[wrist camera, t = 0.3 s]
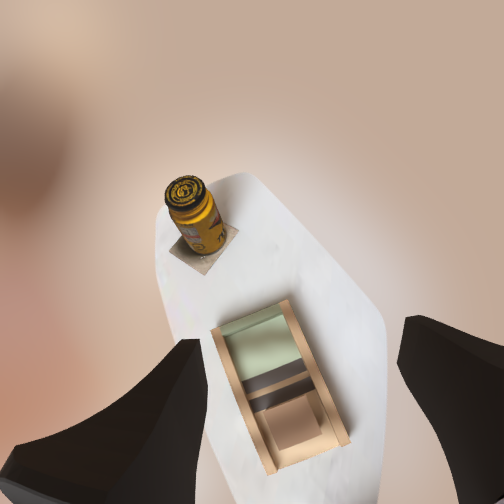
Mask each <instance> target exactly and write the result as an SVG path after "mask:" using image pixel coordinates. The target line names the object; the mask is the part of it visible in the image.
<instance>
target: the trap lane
mask: <svg viewBox="0 0 504 504" xmlns="http://www.w3.org/2000/svg"><path fill="white" fill-rule="evenodd" d="M210 331H211V334H212V337H213V339H214V342H215V345H216V348H217V351H218V353H219V356H220V359H221V362H222V364H223V367H224V370H225V373H226V375H227V378H228V381H229V383H230V386H231V388H232V391H233V394H234V396H235V399H236V401H237V404H238V406H239V409H240V411H241V414H242V416H243V419H244V421H245V424H246V426H247V429H248V431H249V434H250V436H251V438H252V441H253V443H254V446H255V448H256V450H257V453H258V455H259V457H260V459H261V462H262V464H263V466H264V469H265V471H266V473H267V475H271V474H274V473H277V472H278V469H281V468H284V467H287V466H290V465H293V464H295V463H298V462H301V461H303V460H306V459H308V458H311V457H313V456H316V455H318V454H321V453H323V452H325V451H328V450H330V449H332V448H335V447H337V446H339V445H340V446H341V447H343V446H345V445H347V444H349V443H351V441H350V439H349V437H348V434H347V432H346V430H345V427H344V425H343V423H342V421H341V418H340V416H339V414H338V411H337V409H336V407H335V405H334V402H333V400H332V398H331V395H330V393H329V391H328V389H327V386H326V384H325V382H324V380H323V377H322V375H321V373H320V370H319V368H318V366H317V364H316V361H315V359H314V357H313V355H312V353H311V350H310V348H309V346H308V344H307V341H306V339H305V337H304V335H303V332H302V330H301V328H300V326H299V324H298V321H297V319H296V317H295V315H294V312H293V310H292V308H291V306H290V304H289V301H288V299H287V300H284V301H282V302H279V303H277V304H275V305H272V306H270V307H267V308H265V309H263V310H260V311H258V312H255V313H253V314H250V315H248V316H245V317H243V318H240V319H238V320H235V321H233V322H230V323H228V324H225V325H222V326H220V327H217V328H215V329H212V330H210ZM302 395H306V397H307V399H308V402H309V404H310V406H311V409H312V411H313V413H314V416H315V418H316V420H317V423H318V425H319V427H320V429H321V432H322V435H319V436H317V437H315V438H312V439H310V440H307V441H305V442H302V443H300V444H297V445H294V446H292V447H289V448H286V449H284V450H281V451H279V450H278V447H277V445H276V443H275V440H274V438H273V436H272V433H271V431H270V428H269V426H268V424H267V421H266V419H265V417H264V414H263V411H265V410H267V409H270V408H272V407H275V406H278V405H280V404H283V403H285V402H288V401H290V400H293V399H295V398H298V397H300V396H302Z"/></svg>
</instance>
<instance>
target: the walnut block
mask: <svg viewBox="0 0 504 504" xmlns="http://www.w3.org/2000/svg"><path fill="white" fill-rule="evenodd" d="M263 414H264V417H265V419H266V421H267V424H268V426H269V428H270V431H271V433H272V436H273V438H274V440H275V443H276V445H277V447H278V450H279V451H281V450H284V449H286V448H289V447H292V446H294V445H297V444H300V443H302V442H305V441H307V440H310V439H312V438H315V437H317V436H319V435H322V432H321V429H320V427H319V425H318V423H317V420H316V418H315V416H314V413H313V411H312V409H311V406H310V404H309V402H308V399H307V397H306V395H302V396H300V397H298V398H295V399H293V400H290V401H288V402H285V403H283V404H280V405H278V406H275V407H272V408H270V409H267V410H265V411H263Z"/></svg>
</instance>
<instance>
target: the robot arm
mask: <svg viewBox="0 0 504 504" xmlns="http://www.w3.org/2000/svg"><path fill="white" fill-rule="evenodd" d="M397 365H398V367H399V370H400V372H401V375H402V377H403V379H404V381H405V383H406V385H407V387H408V388H409V390H410V392H411V393H412V395H413V396H414V398H415V399H416V401H417V403H418V404H419V406H420V407H421V409H422V411H423V412H424V414H425V415H426V417H427V418H428V420H429V422H430V423H431V425H432V427H433V429H434V430H435V432H436V434H437V436H438V439H439V441H440V443H441V446H442V448H443V451H444V453H445V456H446V459H447V461H448V464H449V467H450V470H451V473H452V477H453V480H454V484H455V488H456V492H457V496H458V501H459V504H504V346H501V345H498V344H495V343H492V342H489V341H486V340H483V339H480V338H478V337H475V336H472V335H470V334H467V333H465V332H463V331H460V330H458V329H455V328H453V327H450V326H448V325H446V324H443V323H441V322H438V321H436V320H434V319H431V318H428V317H425V316H421V315H416V316H410V317H406V319H405V324H404V329H403V335H402V340H401V345H400V350H399V355H398V360H397ZM207 395H208V384H207V378H206V373H205V368H204V362H203V357H202V351H201V345H200V339H181V340H180V341H179V342H178V344H177V345H176V346H175V347H174V348H173V349H172V350H171V351H170V352H169V353H168V354H167V355H166V356H165V357H164V359H163V360H162V361H161V362H160V363H159V364H158V365H157V366H156V367H155V368H154V369H153V370H152V371H151V372H150V373H149V374H148V375H147V376H146V377H145V378H144V379H142V380H141V381H140V382H139V383H138V384H137V385H136V386H134V387H133V388H132V389H131V390H130V391H129V392H127V393H126V394H125V395H124V396H123V397H121V398H119V399H118V400H117V401H115V402H114V403H112V404H111V405H110V406H108V407H107V408H105V409H103V410H102V411H100V412H98V413H96V414H95V415H93V416H91V417H90V418H88V419H86V420H84V421H82V422H81V423H79V424H76V425H75V426H72V427H70V428H68V429H66V430H63V431H61V432H58V433H56V434H53V435H51V436H48V437H45V438H42V439H38V440H35V441H31V442H28V443H25V444H20V445H16V446H15V447H14V449H13V451H12V452H11V454H10V456H9V457H8V459H7V461H6V463H5V464H4V466H3V467H2V469H1V471H0V490H1V491H2V493H3V494H4V495H5V496H6V497H7V498H8V499H9V500H10V501H11V502H12V503H13V504H195V487H196V486H195V485H196V469H197V462H198V457H199V451H200V445H201V440H202V434H203V429H204V423H205V418H206V412H207Z"/></svg>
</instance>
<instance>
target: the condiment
mask: <svg viewBox="0 0 504 504" xmlns="http://www.w3.org/2000/svg"><path fill="white" fill-rule="evenodd" d="M165 203H166V205H167V206H168V208H169V214H170V217H171V219H172V220H173V222H174V223H175V225H176V226H177V228H178V229H179V231H180V232H181V234H182V236H181V237H180V238H179V240H178V241H177V242H176V243H175V244H174V245H173V246H172V248H171V249H170V250H169V252H170V253H172V254H173V255H174V256H176V257H177V258H179V259H180V260H182V261H183V262H185V263H186V264H188V265H189V266H191V267H192V268H194V269H195V270H197V271H198V272H200V273H201V274H203V275H205V274H206V273H207V271H208V270H209V269H210V268H211V266H212V265H213V264H214V262H215V261H216V260H217V258H218V257H219V256H220V255H221V253H222V252H223V251H224V250H225V248H226V247H227V246H228V245H229V243H230V242H231V241H232V239H233V238H234V237H235V235H236V234H237V233H238V230H236V229H234V228H233V227H231V226H229V225H227V224H225V223H223V221H222V219H221V216H220V214H219V212H218V209H217V207H216V204H215V202H214V199H213V197H212V195H211V193H210V192H209V191H208V190H207V189H206V188H205V185H204V183H203V182H202V180H201V179H199V178H197V177H196V176H189V175H188V176H183V177H179V178H177V179H176V180H174V181H173V182H171V183H170V185H169V186H168V187H167V189H166V191H165ZM204 256H205V257H204ZM201 257H203V258H202V259H201Z"/></svg>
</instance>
